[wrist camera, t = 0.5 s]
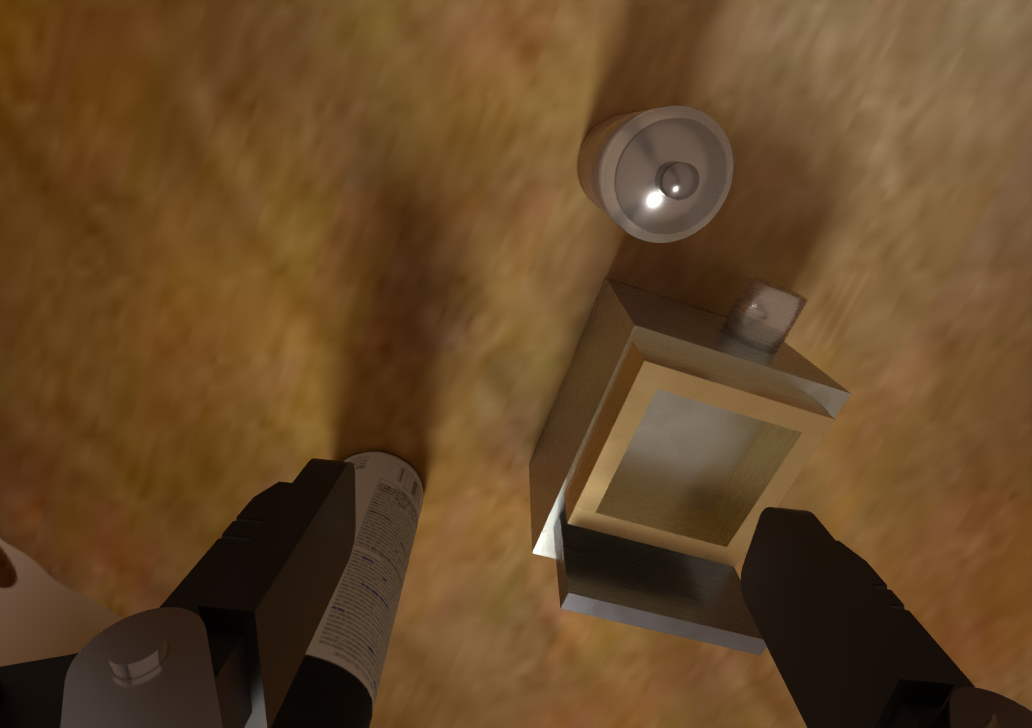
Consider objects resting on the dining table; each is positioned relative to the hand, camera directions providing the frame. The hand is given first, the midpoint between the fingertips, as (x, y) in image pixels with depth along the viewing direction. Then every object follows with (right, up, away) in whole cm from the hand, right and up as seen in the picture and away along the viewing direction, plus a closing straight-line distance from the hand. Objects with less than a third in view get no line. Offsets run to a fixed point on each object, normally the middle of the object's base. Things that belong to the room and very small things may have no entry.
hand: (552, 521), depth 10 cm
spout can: (+5, +14, +17) cm, 22 cm away
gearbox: (+8, +2, +22) cm, 24 cm away
